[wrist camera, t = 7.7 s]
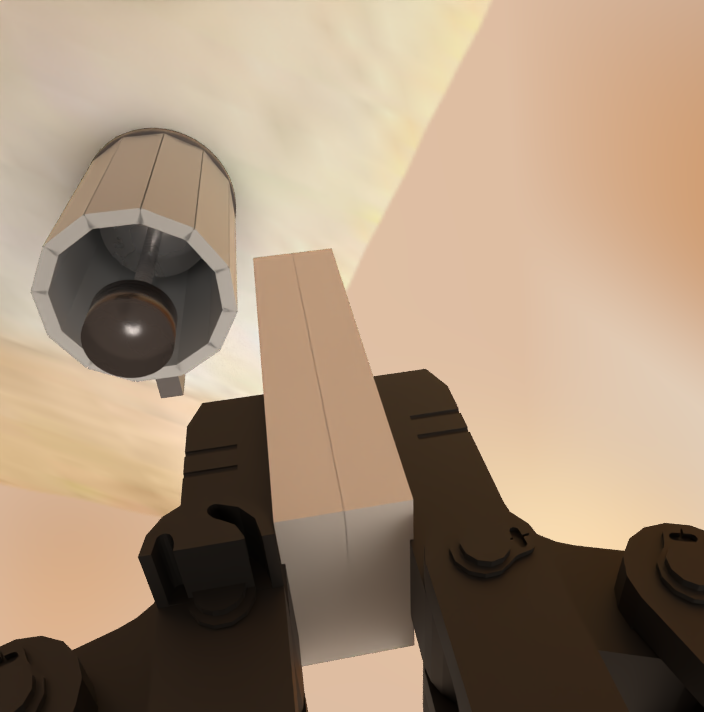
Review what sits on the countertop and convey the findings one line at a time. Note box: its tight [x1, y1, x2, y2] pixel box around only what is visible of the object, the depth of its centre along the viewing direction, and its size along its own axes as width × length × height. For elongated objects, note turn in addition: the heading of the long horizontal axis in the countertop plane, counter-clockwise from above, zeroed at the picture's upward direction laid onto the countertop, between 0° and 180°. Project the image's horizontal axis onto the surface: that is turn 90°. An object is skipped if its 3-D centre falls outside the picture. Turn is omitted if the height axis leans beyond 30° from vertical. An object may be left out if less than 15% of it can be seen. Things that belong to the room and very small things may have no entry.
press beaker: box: [31, 128, 237, 398], centre depth 42 cm, size 13×11×15 cm
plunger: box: [81, 223, 202, 378], centre depth 38 cm, size 7×7×15 cm
